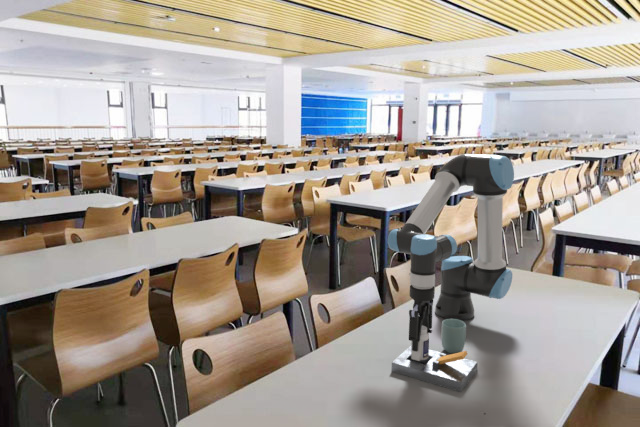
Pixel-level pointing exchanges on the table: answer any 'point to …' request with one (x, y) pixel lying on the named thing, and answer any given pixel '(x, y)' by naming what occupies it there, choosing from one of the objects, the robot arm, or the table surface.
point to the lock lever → (451, 357)
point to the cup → (453, 335)
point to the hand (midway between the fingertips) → (419, 355)
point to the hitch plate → (436, 369)
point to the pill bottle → (424, 343)
